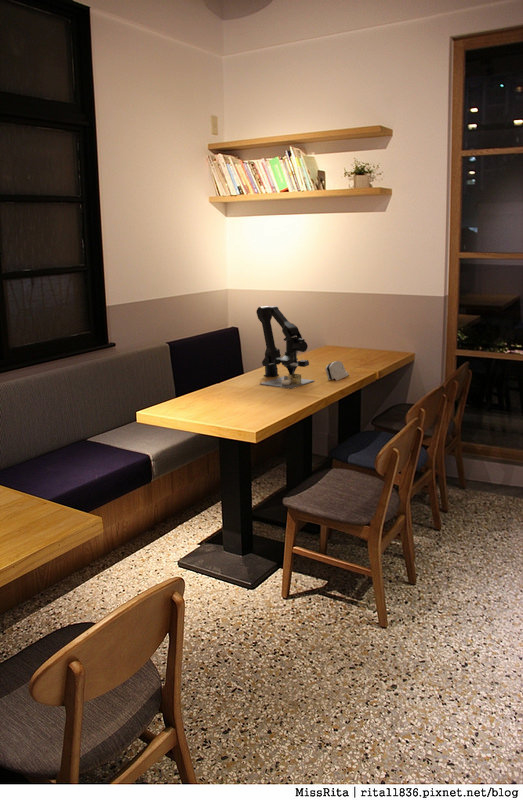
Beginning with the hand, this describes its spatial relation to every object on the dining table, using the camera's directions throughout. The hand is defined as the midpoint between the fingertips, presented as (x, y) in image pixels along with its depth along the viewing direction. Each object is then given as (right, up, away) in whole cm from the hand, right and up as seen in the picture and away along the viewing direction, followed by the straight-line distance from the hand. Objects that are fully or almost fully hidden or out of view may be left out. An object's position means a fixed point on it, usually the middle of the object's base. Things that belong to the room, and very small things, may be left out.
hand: (291, 377), depth 376 cm
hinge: (+25, 0, +4) cm, 25 cm away
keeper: (+1, -4, -9) cm, 10 cm away
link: (-1, -2, -7) cm, 7 cm away
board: (-3, -3, -5) cm, 7 cm away
